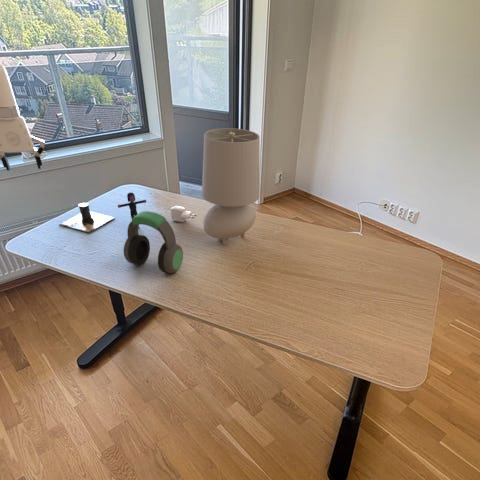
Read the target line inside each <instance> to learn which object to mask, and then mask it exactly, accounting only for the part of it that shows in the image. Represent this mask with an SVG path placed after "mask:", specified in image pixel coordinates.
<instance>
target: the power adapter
mask: <svg viewBox="0 0 480 480" xmlns="http://www.w3.org/2000/svg"><path fill="white" fill-rule="evenodd" d="M170 215H171V221H173V222H178V223H184V222H186V220H189V218H190V219H195V217H197V216H198V214H195V213H193V212H192V211H188V210H187V209H186V207H183V206H178V205H174V206H172V207H171V209H170Z"/></svg>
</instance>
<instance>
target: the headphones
mask: <svg viewBox="0 0 480 480" xmlns="http://www.w3.org/2000/svg"><path fill="white" fill-rule="evenodd" d="M138 225H139V226H140V225H143V226H147V227H150V228H153V229H154V230H155V231H157V232H159V234H160V235H161V237H162V239H163V241H164V242H163V243H162V245H161V246H160V248H159V251H158V255H157V266H158V268H159V270H160V272H162V273H166V274H167V273H168V274H175V273H176V272H178V271H179V270H180V268H181V266H182V264H183V260H184V251H183V248H182V246H181V245H180V244H179V243H177V241H176V240H177V239H176V235H175V231H174V230H173V227H172V225H171V224H170V222H169V221H168V220H167V219H166V217H165V216H163V215H162V214H159V213H157V212H155V211H146V210H145V211H141V212H139V213H137V215H136V216H135V215H134V217H133V218H131V221H130V222H129V224H128V226H127V238H126V239H125V242H124V245H123V257H124V258H125V260H126V262H128V263H130V264H132V265H133V266H136V267H140V266H143V265H145V263H146V262H147V260H148V258H149V255H150V252H151V251H150V250H151V243H150V240H149V238H148V237H147V236H146V235H144V234H139V229H138Z"/></svg>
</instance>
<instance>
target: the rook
mask: <svg viewBox="0 0 480 480" xmlns="http://www.w3.org/2000/svg"><path fill="white" fill-rule="evenodd" d="M78 209H79V212H80V213H81V216H82V218H81V220H82V222H83V223H90V222H92V221H93V217H92V216H91V213H90V211H91V210H90V204H89V203H88V202H81V203H78Z"/></svg>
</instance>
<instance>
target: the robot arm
mask: <svg viewBox="0 0 480 480" xmlns="http://www.w3.org/2000/svg"><path fill="white" fill-rule="evenodd" d="M34 143H37V144H39V147H38V149H37V148H36V147H35V144H34ZM45 144H46V142H45V140H44V139H40V138H38V137H35V136H33V135H32V134H31V132H30V129H29V127H28V124H27V122H26V120H25V118H24V116H23V115H21V113H20V110H19V107H18V103H17V99H16V96H15V94H14V90H13V88H12V84H11V81H10V77H9V74H8V72H7V69H6V67H5V66H4V65H3V64H0V161H1V163H2V166H3V168H5V169H6V171H10V169H11V166H10V162H9V160H8V157H7V156H6V154H7V153H8V154H10V153H11V154H13V153H30V152H31V153H32V154H33V155H34V159H35V162H36V165H37V168H38V169H39V170H41V169H42V166H43V162H42V158H41V154H42V153H43V152H44V149H45Z"/></svg>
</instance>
